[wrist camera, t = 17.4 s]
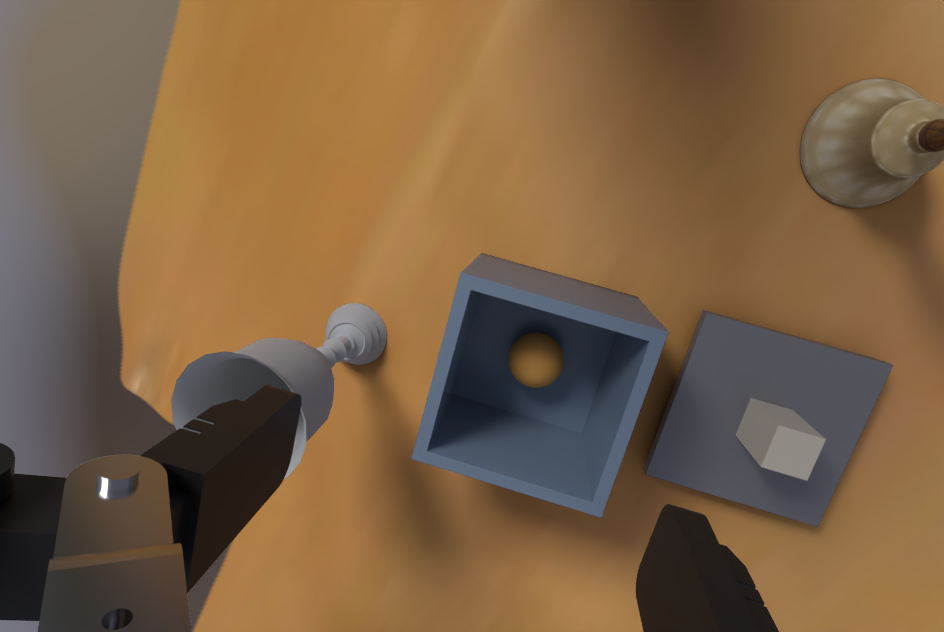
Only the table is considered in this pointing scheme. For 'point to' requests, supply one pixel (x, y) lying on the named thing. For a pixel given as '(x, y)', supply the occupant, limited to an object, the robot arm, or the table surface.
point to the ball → (536, 360)
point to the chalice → (283, 371)
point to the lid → (764, 417)
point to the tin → (546, 408)
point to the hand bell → (871, 142)
